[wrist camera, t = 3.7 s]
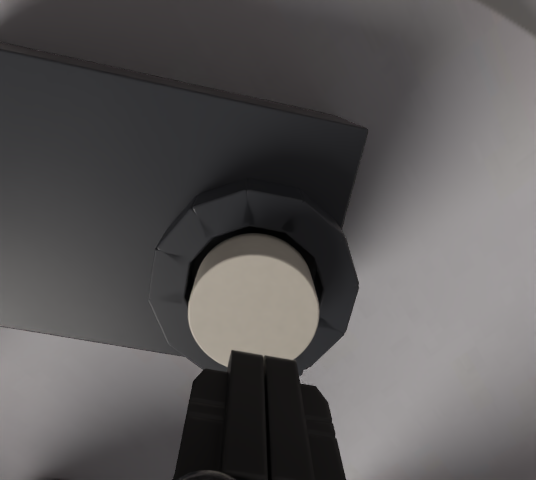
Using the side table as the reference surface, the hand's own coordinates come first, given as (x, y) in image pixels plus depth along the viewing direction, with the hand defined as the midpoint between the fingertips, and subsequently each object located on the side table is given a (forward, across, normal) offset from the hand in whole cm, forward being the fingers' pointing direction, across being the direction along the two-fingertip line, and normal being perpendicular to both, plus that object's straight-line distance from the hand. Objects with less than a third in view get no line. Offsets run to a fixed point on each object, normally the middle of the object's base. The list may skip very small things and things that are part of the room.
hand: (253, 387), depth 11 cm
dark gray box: (+13, +5, -1) cm, 14 cm away
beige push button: (+6, 0, 0) cm, 6 cm away
